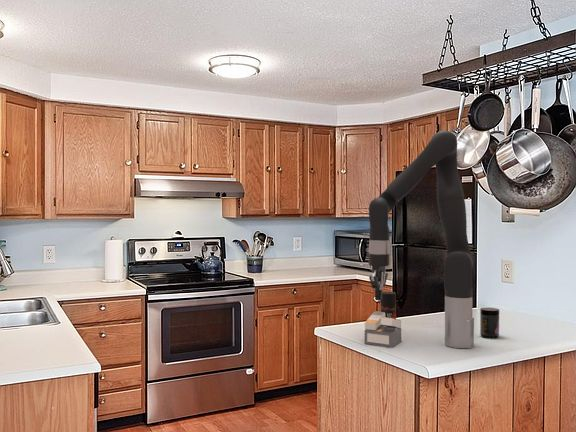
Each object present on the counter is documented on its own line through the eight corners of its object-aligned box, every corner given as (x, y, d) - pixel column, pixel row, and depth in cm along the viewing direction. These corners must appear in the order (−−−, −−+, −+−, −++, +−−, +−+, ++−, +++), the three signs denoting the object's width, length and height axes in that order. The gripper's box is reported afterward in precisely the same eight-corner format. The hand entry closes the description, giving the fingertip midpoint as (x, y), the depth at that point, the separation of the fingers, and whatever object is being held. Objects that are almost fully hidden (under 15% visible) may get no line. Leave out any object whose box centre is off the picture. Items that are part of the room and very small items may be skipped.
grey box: (401, 341, 193) (401, 325, 193) (391, 347, 184) (391, 330, 184) (375, 338, 198) (375, 322, 198) (364, 344, 189) (364, 327, 189)
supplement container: (494, 340, 195) (494, 311, 195) (476, 336, 200) (476, 309, 200) (502, 336, 200) (502, 309, 200) (485, 333, 205) (485, 306, 205)
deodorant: (384, 333, 206) (384, 294, 206) (378, 329, 212) (378, 292, 212) (398, 332, 208) (398, 293, 208) (391, 328, 214) (391, 291, 214)
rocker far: (385, 318, 196) (384, 312, 195) (375, 330, 188) (375, 323, 187) (375, 317, 198) (374, 311, 197) (365, 329, 190) (364, 322, 189)
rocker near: (400, 327, 192) (401, 320, 193) (391, 325, 184) (392, 318, 185) (390, 326, 194) (390, 318, 195) (380, 324, 186) (381, 316, 187)
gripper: (382, 254, 188) (381, 303, 188) (395, 251, 199) (394, 298, 199) (362, 253, 192) (361, 301, 192) (376, 250, 203) (375, 296, 203)
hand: (378, 299), depth 196 cm, fingers closed
